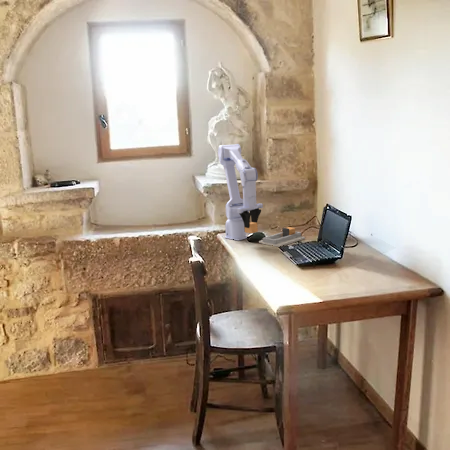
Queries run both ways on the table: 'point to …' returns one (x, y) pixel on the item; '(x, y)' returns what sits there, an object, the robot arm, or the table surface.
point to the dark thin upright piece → (320, 226)
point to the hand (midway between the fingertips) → (250, 226)
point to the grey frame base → (283, 237)
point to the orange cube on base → (251, 228)
